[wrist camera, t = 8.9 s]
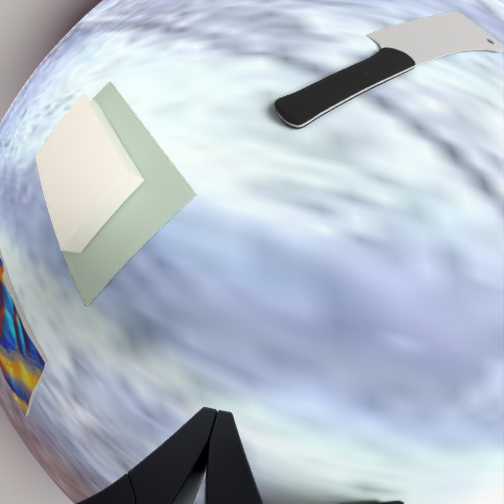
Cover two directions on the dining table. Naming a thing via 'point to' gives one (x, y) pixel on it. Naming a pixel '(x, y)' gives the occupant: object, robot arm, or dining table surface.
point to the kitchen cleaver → (386, 63)
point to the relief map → (18, 346)
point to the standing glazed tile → (84, 174)
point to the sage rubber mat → (129, 202)
